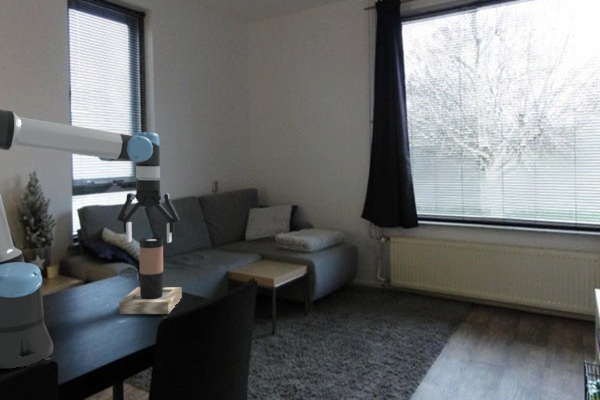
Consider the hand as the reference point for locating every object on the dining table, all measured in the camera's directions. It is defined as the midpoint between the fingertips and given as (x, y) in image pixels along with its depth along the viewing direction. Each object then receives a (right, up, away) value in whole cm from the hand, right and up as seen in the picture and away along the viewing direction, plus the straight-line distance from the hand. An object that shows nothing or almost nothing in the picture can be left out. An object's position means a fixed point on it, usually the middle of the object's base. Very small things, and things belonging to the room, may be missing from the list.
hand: (149, 242), depth 150 cm
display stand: (0, -22, +3) cm, 22 cm away
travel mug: (0, -19, +2) cm, 19 cm away
